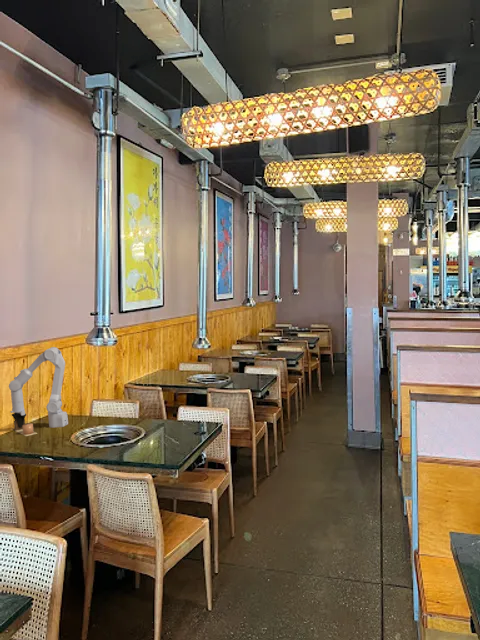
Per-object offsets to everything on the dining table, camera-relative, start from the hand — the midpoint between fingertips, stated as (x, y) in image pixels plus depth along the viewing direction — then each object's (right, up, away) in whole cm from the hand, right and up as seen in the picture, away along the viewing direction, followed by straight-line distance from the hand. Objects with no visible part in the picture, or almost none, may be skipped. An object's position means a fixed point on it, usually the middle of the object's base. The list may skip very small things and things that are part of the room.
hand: (20, 426), depth 265 cm
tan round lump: (+8, -1, -9) cm, 13 cm away
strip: (+5, -3, -5) cm, 8 cm away
